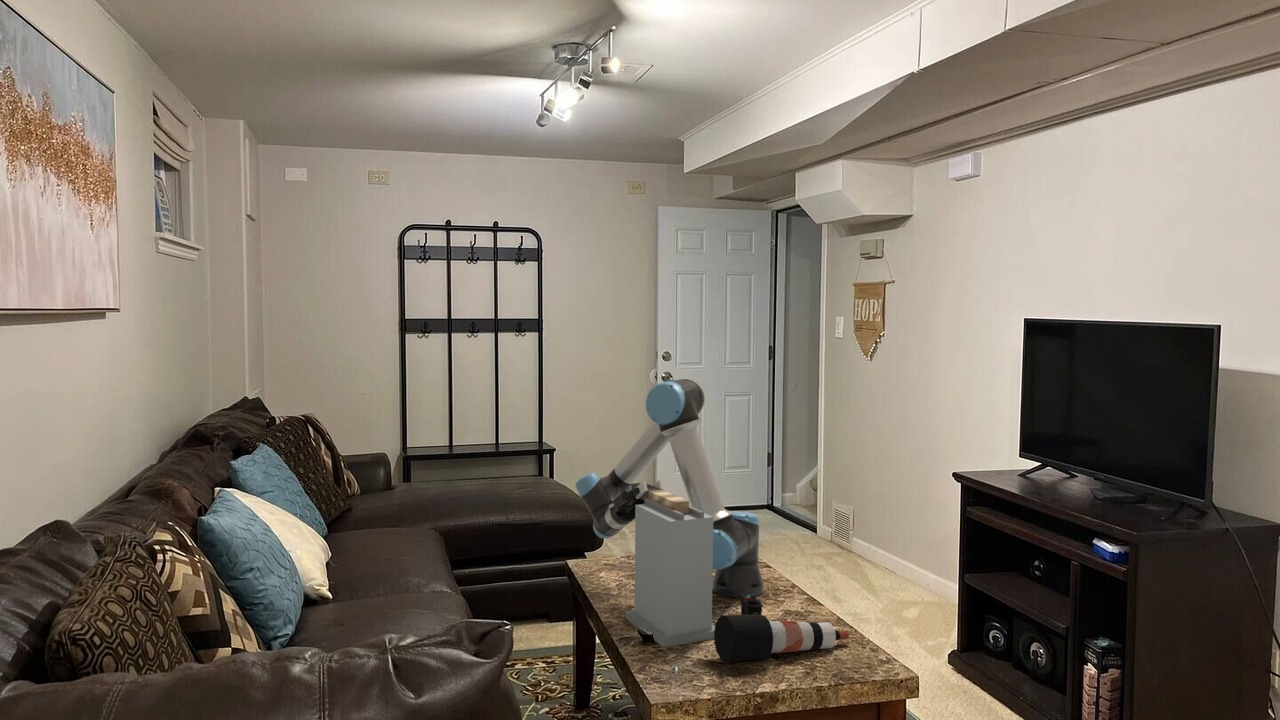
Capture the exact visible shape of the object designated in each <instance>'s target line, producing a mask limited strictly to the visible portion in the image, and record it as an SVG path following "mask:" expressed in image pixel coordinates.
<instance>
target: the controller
mask: <svg viewBox="0 0 1280 720" xmlns="http://www.w3.org/2000/svg"><path fill="white" fill-rule="evenodd" d="M758 596H759V595H757V594H756V593H752V592H740V593H739V595H738V597H737V599H738V600H739V603H740V610H741V612H740V615H763V614H762V613H763V603H762V602H761V600H760V599H757V597H758Z"/></svg>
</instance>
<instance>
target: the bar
mask: <svg viewBox="0 0 1280 720" xmlns="http://www.w3.org/2000/svg"><path fill="white" fill-rule="evenodd" d="M641 483H642V482H638V483H637V482H633V484H631V490H633V489H635V488H636V487H637V486H638V485H639V484H641ZM646 484H647V489H648V491H647V492H646V493H644V494H643V495H642V496H641V497H640V499H643V500H645V498H649V499H651V500H654V501H656V502H658V503H660V504H663V505H665V506H667V507H669V508H671V509H674V510H676V511H678V512H680V513H689V506H690V501H689V499H685V498H683V497H680V496H679V495H676V494H673V493H671V492H668V491H665V490H664V489H663V490H661V489H659V488H656V487H654V486H653V485H652V484H649V483H647V482H646Z"/></svg>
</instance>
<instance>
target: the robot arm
mask: <svg viewBox="0 0 1280 720" xmlns="http://www.w3.org/2000/svg"><path fill="white" fill-rule="evenodd" d="M704 404H705V394H704V391H703V388H702V387H701V386H700V385H699V384H698V383H697V382H695V381H694V380H692V379H685V378H682V379H676V380H666V381H662V382H661V383H658V384H656V385H654V386H653V387H652V388H651V389H650V390H649V392H648V394H647V396H646V400H645V409H646V413H647V415H648V417H649V418H650V419H651V420H652V421H653V422H652V423H651V424H650V425H649V426H648V428H647V429H646V430H645V431H644V432H643V434H641V436H640V437H639V438H638V440H637V441H635V443H634V444H633V445H632V447H631V448H629V450H628V451H627V452H626V454H625V455H624V456H623V457H622V458H621V460H620V461H619V462H618V463H617V464H616V466H614V468H613V469H612V470H611V471H610V472H609V474H608V475H606V476H604V477H599V476H598V474H597V473H596V472H594V471H593V472H590V473H588V474H586V475H584V476H583V477H581V478H579V479H578V480H577V481H576V482H575V488H576V491H577V492H578V495H579V496H580V498H581V500H582V501H583V503H584V505H585V507H586V508H587V510H588V511H589V513H590V515H591V517H592V519H593V523H592V529H593V532H594V533H595V535H596V536H597V537H599V538H600V539H604V540H606V539H610V538H613V537H614V536H616V535H618V534H619V533H620V531H623V529H624V528H625V527H626V526H627V525H629V524H630V523H632V522H633V521H635V508H636V505H640V504H645V500H643V499H640V497H641V496H642V495H643V494H644V493H646V492H647V491H648V489H647V484H648V483H647V481H646V480H644V481H643V480H642V482H640V483H641V484H639V485H638V486H637V487H636V488H635V489H633V490H631V484H633V483H635V481H636V480H637V479H638V478H639V477H640V475H641V474H643V472H644V471H645V470H646V469H647V467H649V465H651V463H652V462H653V461H654V460H655V459H656V458H657V456H658V455H659V454H660V453H661V452H662V450H663V449H664V448H665V447H666V446H667V445H668V444H669V443H670V444H669V445H670V447H671V450H672V452H673V455H674V459H675V463H677V467H678V471H679V474H680V476H681V479H682V482H683V486H684V489H685V491H686V495H687V498H688V501H689V505H690V506H691V507H693V508H696V509H698V510H700V511H703V512H704V513H705V514H707V515H710V516H712V517H713V571H715V573H714V574H713V580H712V592H715V593H716V594H718V595H721V596H724V597H729V598H738V595H739V593H740V592H752V593H756V594H757V595H758V596H760V595H762V594H763V593H764V591H765V583H764V579H763V576H762V573H761V570H760V566H759V551H760V549H759V547H760V543H759V542H760V541H759V540H760V538H759V537H760V519H759V516H758V514H755V513H753V512H748V511H739V510H728V509H726V508H725V507H724V504H723V500H722V498H721V495H720V491H719V489H718V486H717V483H716V480H715V478H714V477H715V476H714V475H713V471H712V468H711V466H710V463H709V462H710V461H709V460H708V457H707V454H706V452H705V448H704V444H703V442H702V439H701V436H700V433H699V430H698V425H699V424H700V421H701V420H700V417H699V414H700V412H701V411H702V410H703V409H704ZM646 483H647V484H646ZM652 486H654V487H656V488H659V489H661V490H664V485H663V480H662V479H658V480H656V482H655V483H653V485H652Z"/></svg>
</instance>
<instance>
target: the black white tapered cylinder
mask: <svg viewBox="0 0 1280 720" xmlns="http://www.w3.org/2000/svg"><path fill="white" fill-rule="evenodd" d="M714 626H715V630H714V639H713V641H714V647H715V650H716V654H717V656H718V657H719V659H721V660H722V661H723V662H729V661H730V662H735V661H758V660H759V661H760V660H767V659H768V658H769V657H770V656H771V654H775V653H779V654H785V653H796V652H799V651H810V650H822V649H823V650H824V649H825V650H826V649H833V648H834V646H835V643H836V641H841V640H848V639H849V638H850V632H848V630H838V629H837V630H836V629H835V628H834V626H833V625H832V623H830V622H815V621H811V622H809V621H795V620H769V619H768V617H766V616H765V615H763V614H761V615H741V614H733V615H732V614H728V615H727V614H724V615H723V614H722V615H720V616H719V617H718V618H717V620H716V622H715V625H714Z"/></svg>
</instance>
